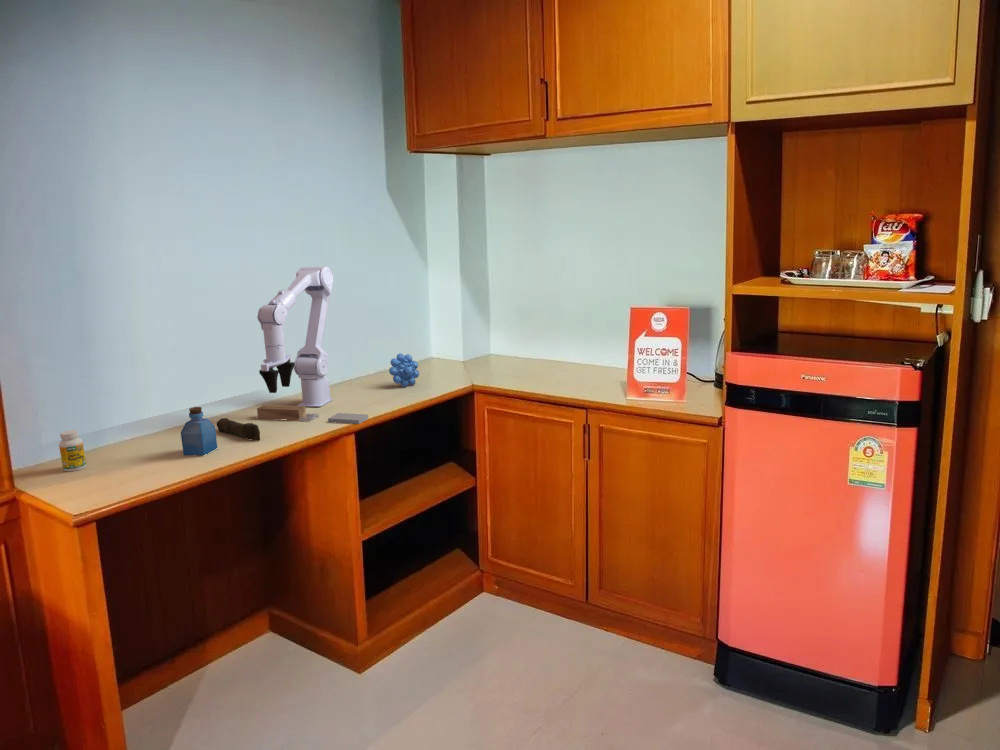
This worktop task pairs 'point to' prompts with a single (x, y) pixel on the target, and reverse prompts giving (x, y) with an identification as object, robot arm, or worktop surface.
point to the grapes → (404, 370)
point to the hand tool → (239, 428)
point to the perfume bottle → (198, 434)
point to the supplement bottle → (72, 451)
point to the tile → (348, 418)
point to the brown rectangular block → (285, 413)
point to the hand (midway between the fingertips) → (279, 389)
